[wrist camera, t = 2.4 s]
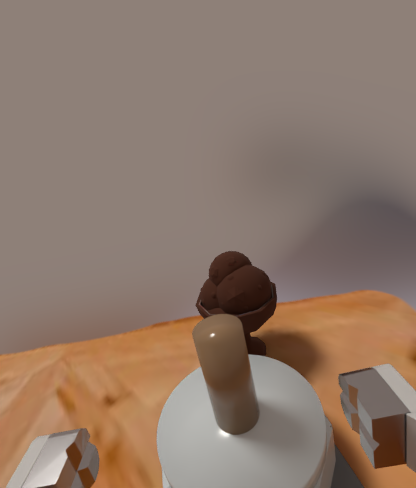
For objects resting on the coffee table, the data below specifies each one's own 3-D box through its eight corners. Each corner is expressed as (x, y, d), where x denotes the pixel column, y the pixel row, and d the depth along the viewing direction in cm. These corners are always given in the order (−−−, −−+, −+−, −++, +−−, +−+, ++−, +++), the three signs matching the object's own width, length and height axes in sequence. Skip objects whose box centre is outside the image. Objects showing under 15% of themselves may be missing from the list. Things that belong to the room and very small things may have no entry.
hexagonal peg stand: (182, 601, 19) (114, 451, 14) (166, 416, 33) (130, 310, 28) (372, 516, 21) (366, 360, 16) (282, 375, 35) (265, 270, 30)
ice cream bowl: (195, 360, 41) (169, 268, 36) (242, 320, 48) (226, 238, 43) (254, 395, 33) (230, 284, 29) (300, 341, 40) (287, 244, 36)
